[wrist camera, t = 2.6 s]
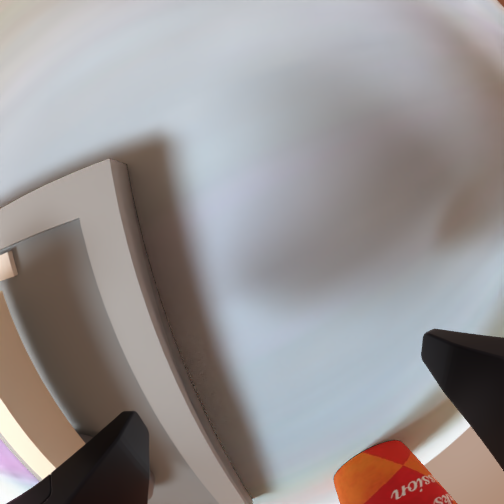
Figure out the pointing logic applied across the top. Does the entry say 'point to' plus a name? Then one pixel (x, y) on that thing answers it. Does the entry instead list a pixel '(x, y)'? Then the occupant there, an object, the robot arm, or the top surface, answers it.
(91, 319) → the board
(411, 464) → the coffee cup
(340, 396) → the top surface
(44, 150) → the top surface
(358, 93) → the top surface
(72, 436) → the long cream stick
